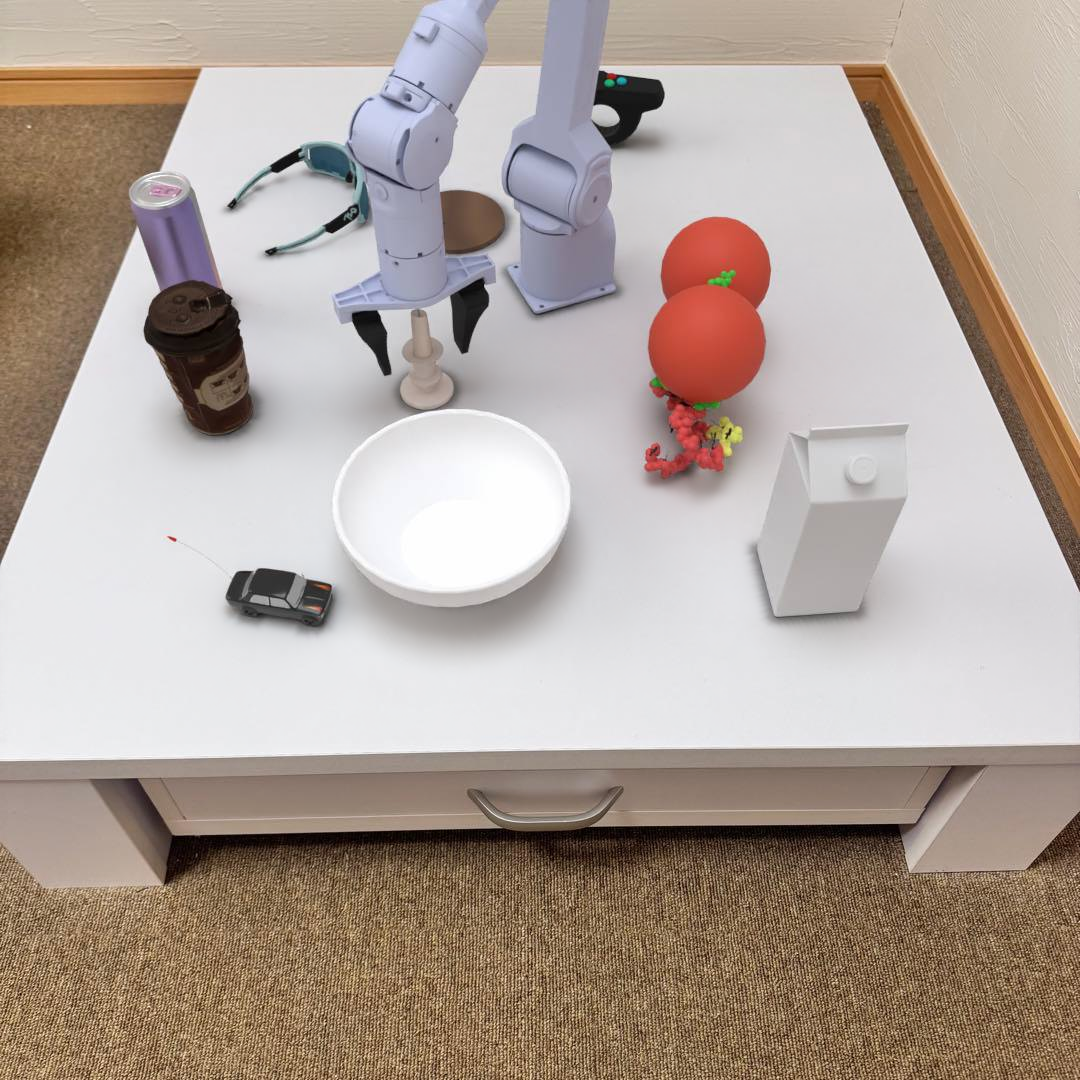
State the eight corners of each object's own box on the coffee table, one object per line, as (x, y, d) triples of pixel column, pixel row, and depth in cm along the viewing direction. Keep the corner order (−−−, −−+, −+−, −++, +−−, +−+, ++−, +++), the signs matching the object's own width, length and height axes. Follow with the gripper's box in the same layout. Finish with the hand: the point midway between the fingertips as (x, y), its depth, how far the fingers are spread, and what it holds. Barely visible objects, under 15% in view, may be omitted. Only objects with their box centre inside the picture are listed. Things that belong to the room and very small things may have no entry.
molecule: (627, 306, 111) (680, 179, 100) (724, 336, 113) (788, 214, 101) (608, 475, 95) (669, 345, 83) (722, 507, 96) (798, 384, 85)
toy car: (324, 631, 87) (308, 574, 81) (185, 609, 88) (158, 552, 82) (338, 592, 89) (323, 535, 83) (202, 572, 91) (177, 514, 84)
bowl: (396, 678, 84) (386, 630, 79) (311, 508, 95) (297, 455, 89) (610, 586, 90) (615, 534, 84) (507, 435, 100) (506, 380, 95)
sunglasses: (394, 217, 121) (384, 181, 116) (279, 278, 117) (265, 243, 113) (336, 157, 128) (325, 121, 123) (226, 213, 124) (210, 178, 120)
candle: (423, 365, 106) (414, 281, 98) (464, 387, 104) (458, 303, 96) (389, 395, 104) (376, 312, 95) (430, 418, 102) (421, 335, 93)
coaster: (483, 185, 125) (483, 180, 124) (519, 239, 118) (519, 234, 118) (394, 207, 122) (393, 202, 121) (426, 263, 116) (426, 258, 115)
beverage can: (215, 336, 109) (176, 211, 97) (160, 328, 109) (115, 203, 97) (237, 299, 112) (202, 173, 100) (184, 291, 113) (143, 166, 101)
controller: (563, 126, 132) (565, 47, 124) (661, 137, 131) (669, 59, 123) (556, 145, 130) (558, 66, 122) (656, 157, 128) (664, 78, 120)
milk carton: (755, 549, 92) (799, 393, 77) (836, 544, 93) (894, 387, 78) (773, 618, 88) (823, 466, 73) (857, 612, 88) (924, 460, 73)
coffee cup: (283, 393, 104) (256, 287, 93) (242, 453, 99) (208, 348, 89) (204, 373, 105) (169, 266, 95) (160, 430, 101) (117, 325, 90)
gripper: (473, 191, 94) (479, 311, 104) (313, 231, 90) (337, 351, 101) (503, 237, 90) (506, 357, 100) (337, 280, 86) (359, 400, 97)
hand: (423, 357), depth 100 cm, fingers open, 7 cm apart
